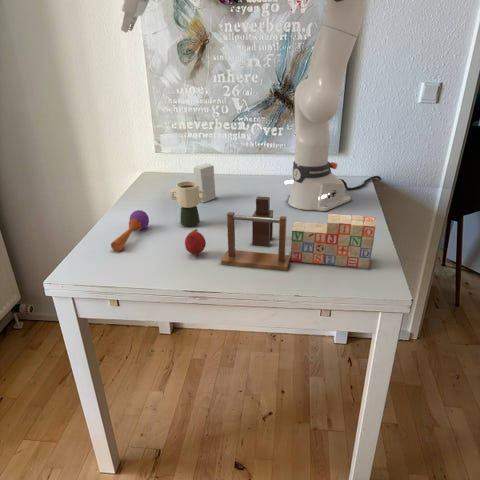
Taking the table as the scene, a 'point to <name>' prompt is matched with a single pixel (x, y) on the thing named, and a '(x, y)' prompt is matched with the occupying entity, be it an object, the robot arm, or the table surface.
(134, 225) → the kendama
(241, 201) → the table surface
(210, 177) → the cosmetic box
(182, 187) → the character mug
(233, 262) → the rail
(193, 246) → the onion
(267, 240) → the brown stepped block
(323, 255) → the stack of blocks
